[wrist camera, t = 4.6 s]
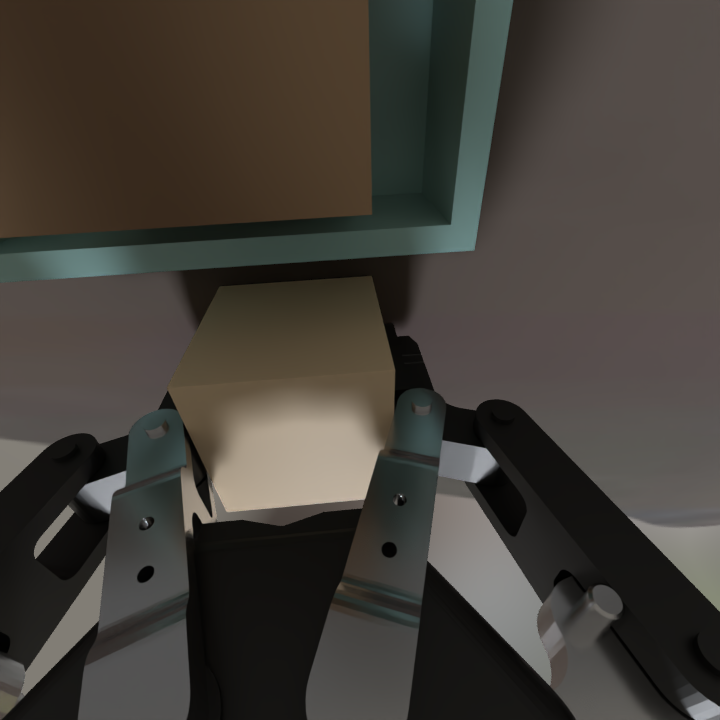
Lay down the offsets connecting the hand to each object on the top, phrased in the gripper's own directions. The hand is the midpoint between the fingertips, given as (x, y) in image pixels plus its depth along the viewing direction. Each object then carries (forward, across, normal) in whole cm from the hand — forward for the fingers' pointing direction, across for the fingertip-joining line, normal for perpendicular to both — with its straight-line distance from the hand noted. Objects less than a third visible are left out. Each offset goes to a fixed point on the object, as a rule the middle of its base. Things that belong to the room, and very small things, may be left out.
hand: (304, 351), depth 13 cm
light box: (0, 0, 0) cm, 0 cm away
